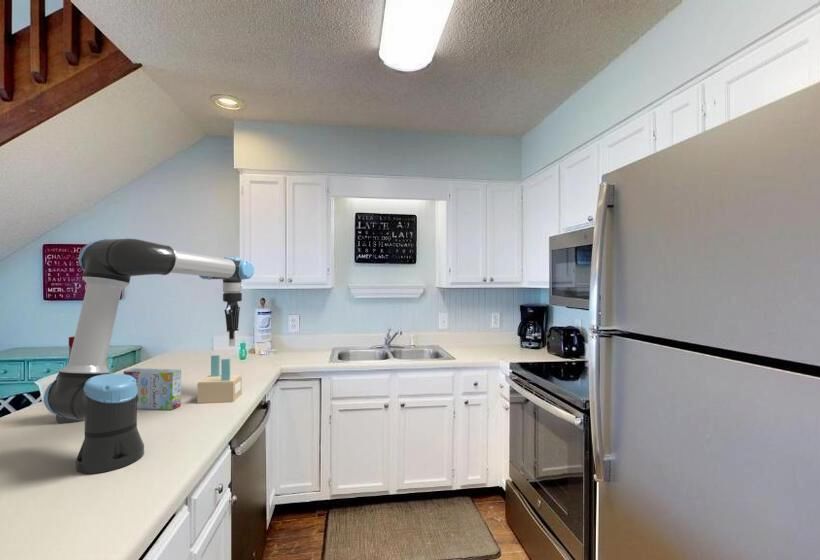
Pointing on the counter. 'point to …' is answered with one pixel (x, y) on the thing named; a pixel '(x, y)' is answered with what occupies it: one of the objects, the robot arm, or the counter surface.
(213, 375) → the flap far
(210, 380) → the flap near
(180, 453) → the counter surface
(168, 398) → the snack box
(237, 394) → the carton
